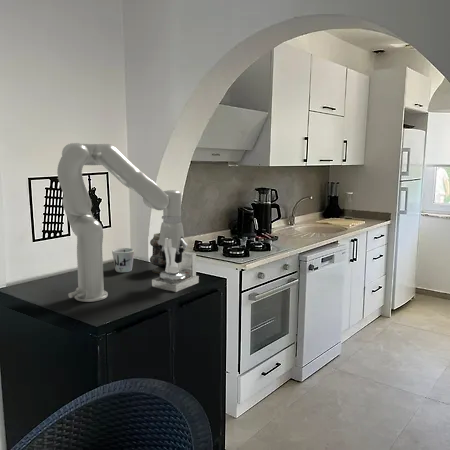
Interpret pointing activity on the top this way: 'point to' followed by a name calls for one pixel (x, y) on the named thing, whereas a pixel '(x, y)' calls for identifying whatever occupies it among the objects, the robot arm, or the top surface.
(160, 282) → the scale
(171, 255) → the beer glass
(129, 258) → the mug
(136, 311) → the top surface
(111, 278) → the top surface
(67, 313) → the top surface
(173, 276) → the scale pan
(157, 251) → the apothecary jar
